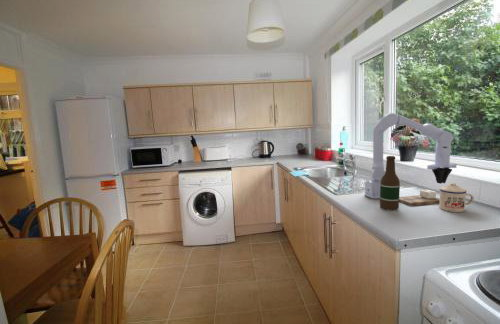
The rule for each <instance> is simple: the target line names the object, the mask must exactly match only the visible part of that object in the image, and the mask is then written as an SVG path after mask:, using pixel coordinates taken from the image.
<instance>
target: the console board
mask: <svg viewBox="0 0 500 324" xmlns="http://www.w3.org/2000/svg"><path fill="white" fill-rule="evenodd" d="M439 202H440V197H439V198H438V197H436V198H429V199H428V198H425V197H422V196H420V194H418V195H408V196H407V195H406V196H399V203H402V204H404V205H407V206H409V207H414V206H425V204H426V205H435V204H436V203H437V204H439Z"/></svg>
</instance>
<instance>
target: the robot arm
mask: <svg viewBox="0 0 500 324" xmlns="http://www.w3.org/2000/svg"><path fill="white" fill-rule="evenodd" d="M396 125H403V126H407V127H409V128H411V129H413V130H416V131H418V132H419V134H420V135H422V136H424V137H427V138H429V139H431V140H434V141H435V151H434V152H435V153H434V154H435V155H434V163H433V164H429V165H427V166H426V167H427V169H426V170H430V171H432V173H433V175H434V177H435V181H436V183H437V184H446V182H447V180H448V177H449V176H450V174H451V173H452V172H453V168H454V169H456V168H457V163H450V161H451V150H452V149H451V147H452V145H451V142H452V141H453V140H454V138H455V137H454V135H453V133H452V132H450V131H447V130H444V128H443V127H441V128H439V127H437V126H435V125H434V124H433V123H424V124H422V123H419V122H417V121H415V120H413V119H411V118H409V117H407V116H403V115H400V114H397V113H393V112H390V113H387V114H384V115H383V116H382V117H380V119H379V120H378V122H376V124H375V125H374V127H373V130H372V140H373V141H372V149H373V151H372V156H373V157H372V168H371V170H370V175H371V178H370V180H367V181H366V182H364V194H363V195H364V196H365V195H366V196H365V197H368V198H371V199H374V200H375V199H380V184H381V179H382V177H383V176H384V174H385V171H386V170H385V165H384V133H385V132H386V131H387V129H389V128H392V127H393V126H396Z"/></svg>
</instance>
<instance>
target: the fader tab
mask: <svg viewBox="0 0 500 324" xmlns="http://www.w3.org/2000/svg"><path fill="white" fill-rule="evenodd" d="M419 190H420V191H419V195H420V196H422V197H425V198H428V199H429V198H437V197H436V196H437V191H434V190H430V189H419Z"/></svg>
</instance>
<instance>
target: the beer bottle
mask: <svg viewBox="0 0 500 324" xmlns="http://www.w3.org/2000/svg"><path fill="white" fill-rule="evenodd" d="M385 159H386V161H385V162H386V164H385V170H384V171H385V174H384V176H383V177H382V179H381V184H380V198H379V208H380V209H383V210H384V211H398V210H399V208H400V202H399V197H400V185H401V182H400V179H399V177H398V175H397V172H396V161H395V160H396V156H394V155H387V156H386V157H385Z"/></svg>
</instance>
